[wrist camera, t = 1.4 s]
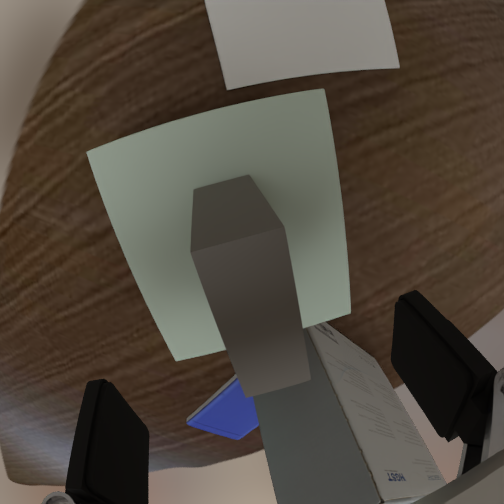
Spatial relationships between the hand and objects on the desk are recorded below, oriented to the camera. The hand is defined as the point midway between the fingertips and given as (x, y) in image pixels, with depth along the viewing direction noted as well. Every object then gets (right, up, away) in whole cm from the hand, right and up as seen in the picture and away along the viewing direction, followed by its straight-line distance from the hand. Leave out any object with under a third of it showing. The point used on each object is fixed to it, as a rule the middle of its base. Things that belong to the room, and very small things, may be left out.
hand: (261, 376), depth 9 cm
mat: (+3, +22, +9) cm, 24 cm away
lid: (-1, +5, +9) cm, 11 cm away
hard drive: (-2, -14, +26) cm, 30 cm away
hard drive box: (+7, -7, +24) cm, 26 cm away
